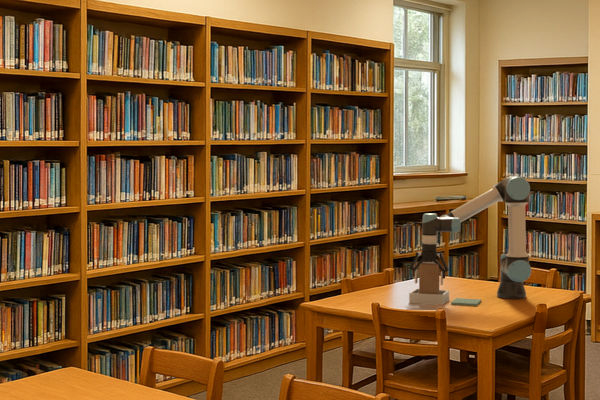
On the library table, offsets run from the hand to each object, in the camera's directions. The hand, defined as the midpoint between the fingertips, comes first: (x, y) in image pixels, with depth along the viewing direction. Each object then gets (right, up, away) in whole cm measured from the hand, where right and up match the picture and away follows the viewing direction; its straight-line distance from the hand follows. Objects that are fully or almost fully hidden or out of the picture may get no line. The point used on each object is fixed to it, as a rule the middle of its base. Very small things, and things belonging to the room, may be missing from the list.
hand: (428, 283), depth 432 cm
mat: (+18, -9, -6) cm, 21 cm away
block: (0, -9, +1) cm, 9 cm away
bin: (0, -9, 0) cm, 9 cm away
